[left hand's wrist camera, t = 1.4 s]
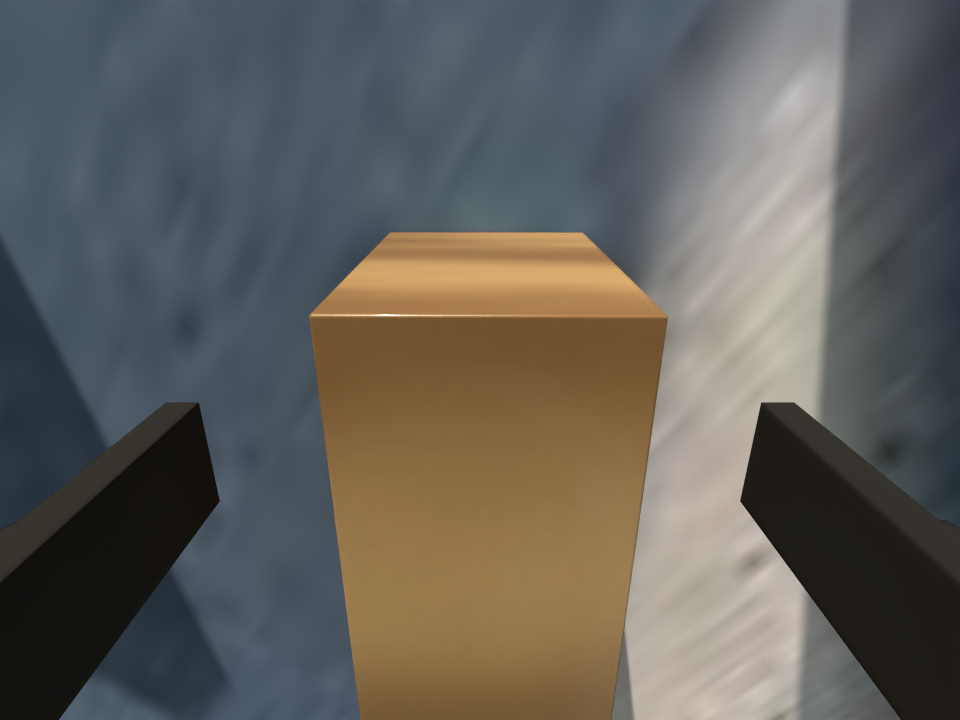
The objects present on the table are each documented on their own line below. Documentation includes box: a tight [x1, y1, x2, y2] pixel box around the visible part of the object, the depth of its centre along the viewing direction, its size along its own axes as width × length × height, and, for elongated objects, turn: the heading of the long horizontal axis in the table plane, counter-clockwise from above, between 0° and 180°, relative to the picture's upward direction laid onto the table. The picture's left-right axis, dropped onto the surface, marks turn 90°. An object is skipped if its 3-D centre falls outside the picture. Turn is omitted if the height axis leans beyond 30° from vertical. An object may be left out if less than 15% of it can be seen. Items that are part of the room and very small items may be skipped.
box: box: [309, 233, 668, 720], centre depth 17 cm, size 22×6×8 cm, turn 0°
